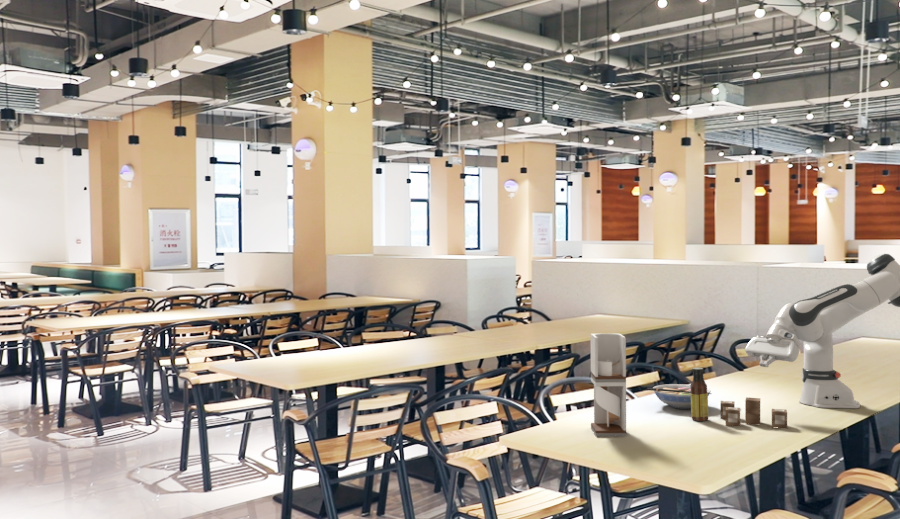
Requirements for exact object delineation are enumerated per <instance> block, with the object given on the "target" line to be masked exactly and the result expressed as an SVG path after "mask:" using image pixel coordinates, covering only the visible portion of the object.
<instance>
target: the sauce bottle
mask: <svg viewBox="0 0 900 519" xmlns="http://www.w3.org/2000/svg"><path fill="white" fill-rule="evenodd" d="M691 371H692V377H693V378H692V381H691V383H690V384H689V385H690V387H691V408H690V411H691V414H690V415H691V420H693V421H694V420H695V422H706V421H708V420H709V400H708V399H709V396H708V393H707V388H708V385H707V383H706V381H705V380H704V368H703V367H692V370H691Z"/></svg>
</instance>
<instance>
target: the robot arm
mask: <svg viewBox="0 0 900 519" xmlns="http://www.w3.org/2000/svg"><path fill="white" fill-rule="evenodd" d="M866 270H867V272H868V274H869V275H870V276H868V277H865V278H863V279H861V280H860V281H859V282H856V283H853V284H850V283H849V284H848V283H847V284H843V285H839V286H836V287H833V288H831V289H829V290H827V291H824V292H821V293H820V294H816V295H814V296H812V297H809V298H805V299H804V298H803V299H802V300H797V301H795V302H789V303H786V304H785V305H783V306H782V307H781V308H780V310H779V311H778V313H777V314H776V316H775V318H774V321H773V323H772V324H771V326H770V327H769V329H768V331H767V332H766V335H765V336H763V335H756V336H754V337H752V338H751V339H750V340H749V342H748V343H747V345H746V346H745V348H744V351H745V353H746V354H747V356H748V357H754V358H759V359H760V361H759V363H758V364H759V366H760V367H763V368H769V366H770V365H771V364H773V363H774V362H775V361H782V362H783V361H784V362H789V363H793V362H795V361H796V360H797V358H798V357H799V354H800V349H801V348H802V343H801V342H800V341H802V342H803V368H802V372H801V379H802V389H801V393H800V397H799V403H801V404H803V405H808V406H813V407H816V408H822V409H823V408H824V409H825V408H826V409H828V408H829V409H830V408H831V409H859V408H860V407H861V404H860V401H857V400H855V396H854V392H853V390H852V389H851V388H850V386H848V385H847V384H846V383H844V382H843V381H841V380H840V377H841V373H840V372H839V371H836V370H835V369H834V348H833V346H834V345H833V344H834V342H833V333H835V332H837V331H838V330H840V329H841V328H843V327H844V326H846V325H847V324H848V323H850V322H851V321H853V320H854V319H855V320H856V318H858V317H860V316H862V315H864V314H865V313H867V312H869V311H870V310H873V309H875V308H877V307H878V306H880V305H882V304H883V303H885V302H887V301H888V300H889V302H887V304H888V305H892V306H894V307H897V308H900V264H899V263H898V261H896V259H895V258H894V257H893V256H892V255H891V254H889V253H883V254H879V255H876V256H874V257H872V258H871V259H870V260H869V262H868V263H867V265H866Z"/></svg>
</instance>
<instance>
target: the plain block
mask: <svg viewBox="0 0 900 519" xmlns="http://www.w3.org/2000/svg"><path fill="white" fill-rule="evenodd" d="M744 405H745V408H744V409H745V414H744V415H745V423H747V424H746V425H751V424H760V425H761V398H758V397H745V404H744ZM745 423H744V424H745ZM748 423H749V424H748Z"/></svg>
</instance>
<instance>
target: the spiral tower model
mask: <svg viewBox="0 0 900 519" xmlns="http://www.w3.org/2000/svg"><path fill="white" fill-rule="evenodd" d="M589 341H590V381H591V383H592V384H593V415H594V416H593V417H594V418H593V422H591V424H590V429H591V431H592V432H594V433H593V434H594V436H595V437H596V436H598V437H627V343H626V342H627V340H626V336H624V335H623V334H621V333H619V332H618V333H617V332H616V333H615V332H613V333H612V332H611V333H605V332H604V333H600V332H599V333H590V339H589Z"/></svg>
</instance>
